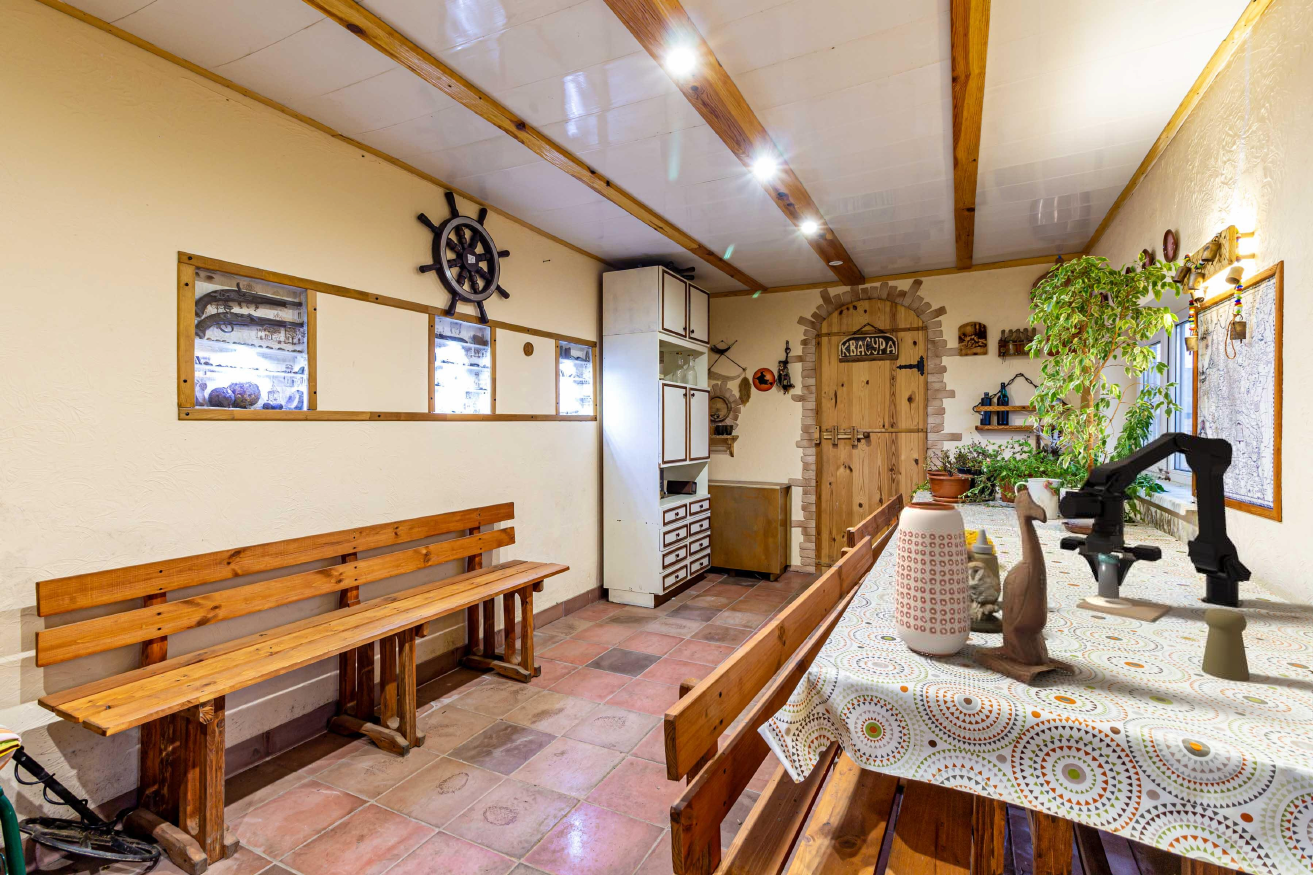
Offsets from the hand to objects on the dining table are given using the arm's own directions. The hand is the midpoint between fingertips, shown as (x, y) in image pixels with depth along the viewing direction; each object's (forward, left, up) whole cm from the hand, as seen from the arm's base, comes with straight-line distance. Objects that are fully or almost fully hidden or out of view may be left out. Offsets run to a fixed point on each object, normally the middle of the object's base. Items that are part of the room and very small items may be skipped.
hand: (1108, 583), depth 142 cm
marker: (0, 0, -3) cm, 3 cm away
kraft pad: (0, +3, -5) cm, 6 cm away
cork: (+32, +26, -5) cm, 42 cm away
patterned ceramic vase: (+60, -11, -5) cm, 61 cm away
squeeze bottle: (+22, -19, -5) cm, 30 cm away
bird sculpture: (+57, +4, -5) cm, 57 cm away
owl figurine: (+39, -16, -5) cm, 43 cm away
